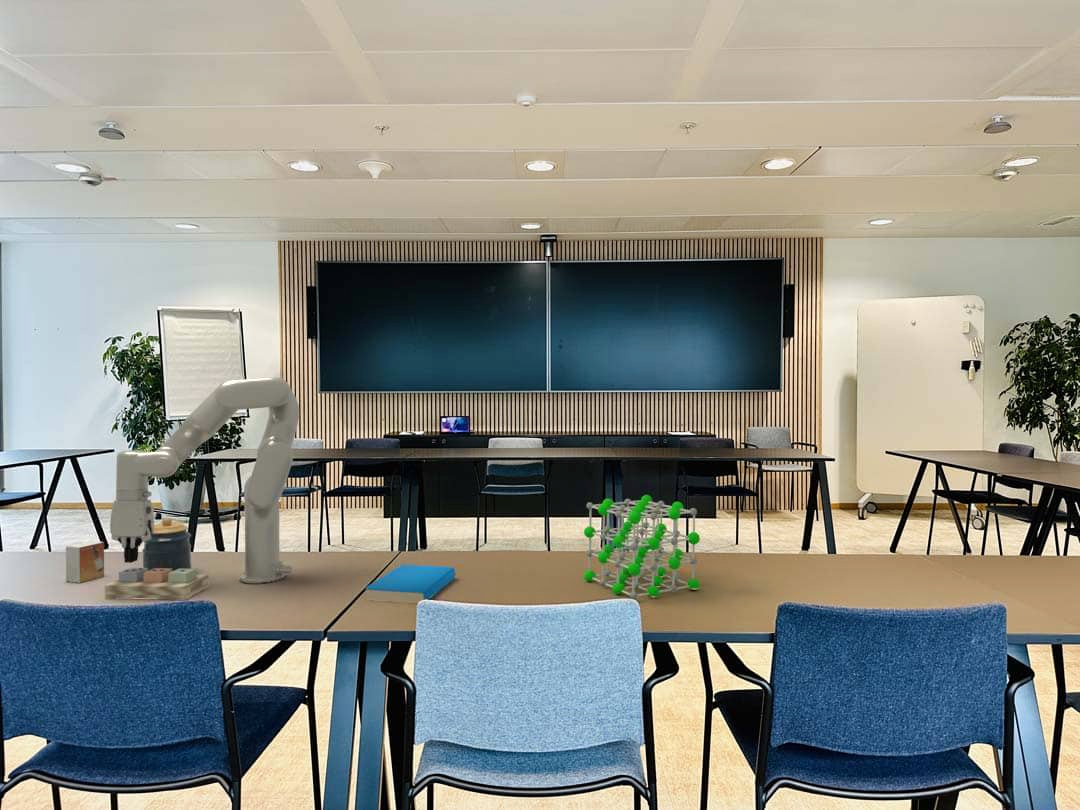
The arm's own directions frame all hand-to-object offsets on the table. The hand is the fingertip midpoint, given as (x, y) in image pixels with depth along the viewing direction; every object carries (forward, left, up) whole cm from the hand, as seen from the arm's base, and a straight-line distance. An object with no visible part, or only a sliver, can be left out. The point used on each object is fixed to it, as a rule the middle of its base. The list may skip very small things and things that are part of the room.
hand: (131, 561), depth 188 cm
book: (-77, -8, -9) cm, 78 cm away
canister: (+1, -17, -9) cm, 20 cm away
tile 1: (-15, 0, -6) cm, 16 cm away
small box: (+22, -12, -9) cm, 27 cm away
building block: (-1, 0, -6) cm, 6 cm away
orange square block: (-8, 0, -6) cm, 9 cm away
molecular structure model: (-142, -15, -9) cm, 143 cm away
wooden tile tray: (-8, 0, -9) cm, 11 cm away
